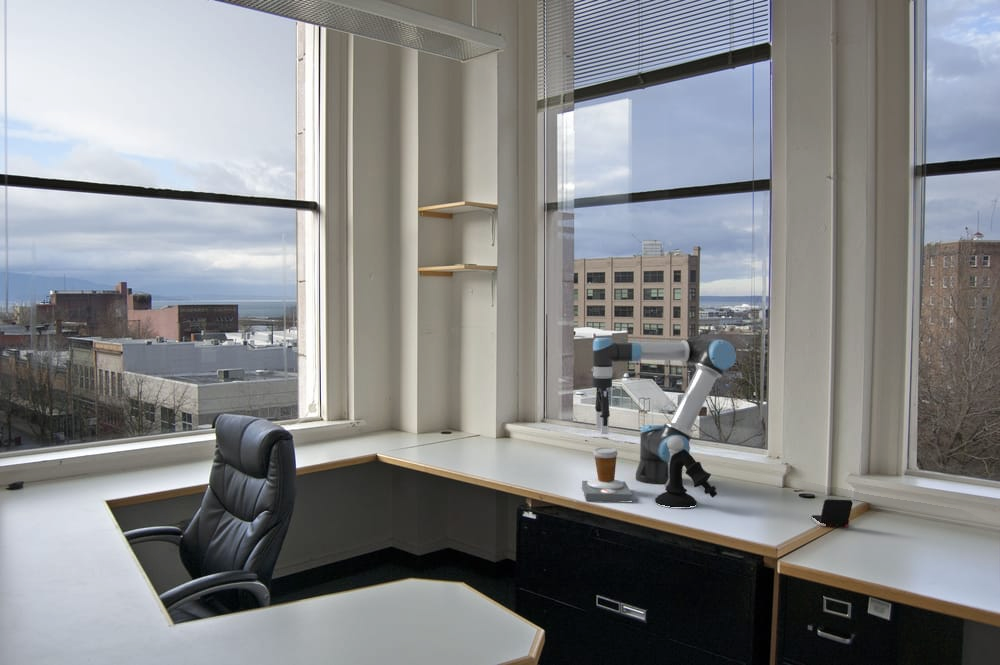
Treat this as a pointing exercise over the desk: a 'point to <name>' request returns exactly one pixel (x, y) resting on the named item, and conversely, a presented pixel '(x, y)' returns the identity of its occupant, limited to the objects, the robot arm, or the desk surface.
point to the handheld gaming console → (835, 513)
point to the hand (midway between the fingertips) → (602, 431)
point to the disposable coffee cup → (605, 463)
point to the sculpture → (674, 484)
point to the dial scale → (606, 491)
